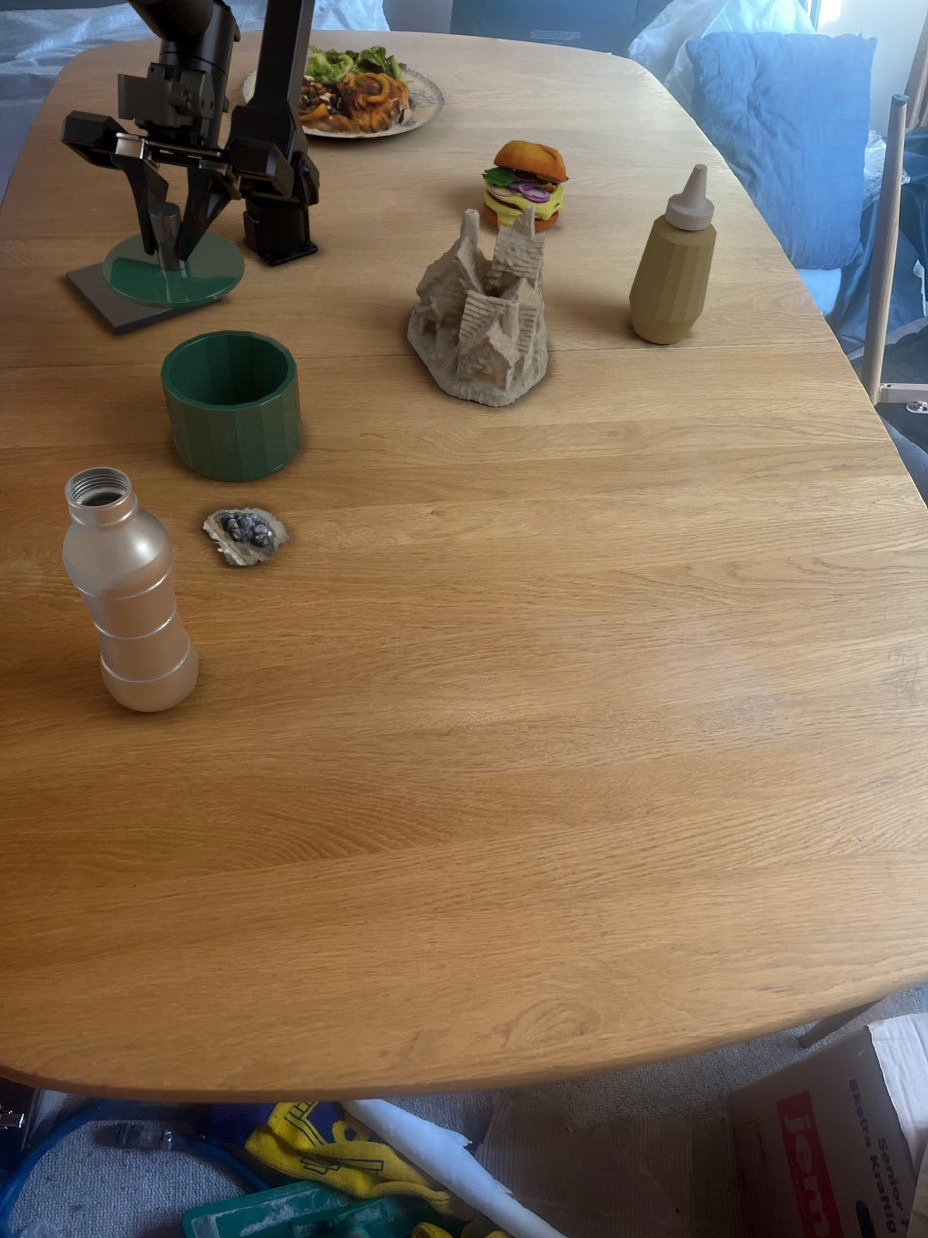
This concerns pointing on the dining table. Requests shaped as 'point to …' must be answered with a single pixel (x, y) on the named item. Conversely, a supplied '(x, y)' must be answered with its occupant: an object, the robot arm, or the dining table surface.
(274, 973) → the dining table surface
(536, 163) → the cheeseburger
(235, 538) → the grey lumpy flat piece
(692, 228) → the squeeze bottle
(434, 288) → the ceramic cottage
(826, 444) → the dining table surface
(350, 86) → the plate of food
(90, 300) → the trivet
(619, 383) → the dining table surface
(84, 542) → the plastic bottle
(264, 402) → the pot
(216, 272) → the pot lid
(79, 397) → the dining table surface
